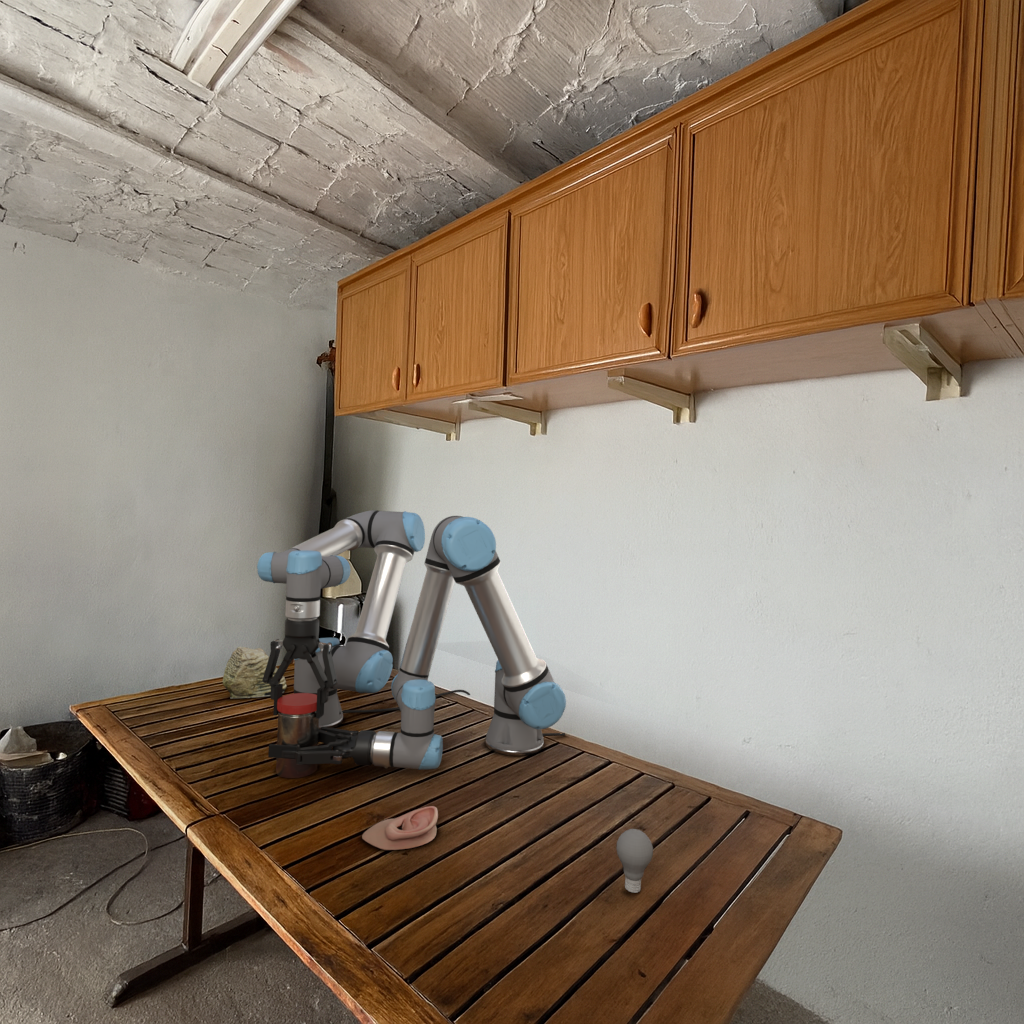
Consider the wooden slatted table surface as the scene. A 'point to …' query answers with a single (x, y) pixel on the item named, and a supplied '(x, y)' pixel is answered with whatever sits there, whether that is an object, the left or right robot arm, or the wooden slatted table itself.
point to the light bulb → (634, 857)
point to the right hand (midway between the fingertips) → (278, 742)
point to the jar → (296, 742)
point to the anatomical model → (404, 830)
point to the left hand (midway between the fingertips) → (298, 714)
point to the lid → (297, 703)
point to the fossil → (248, 674)
